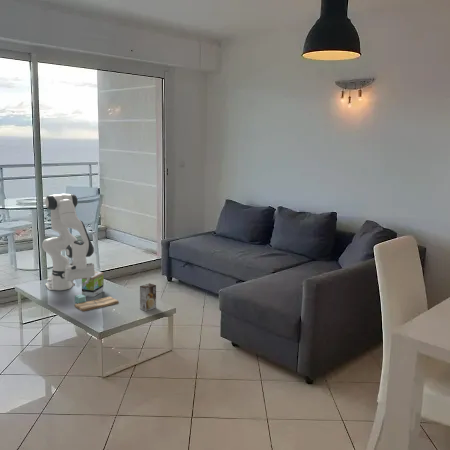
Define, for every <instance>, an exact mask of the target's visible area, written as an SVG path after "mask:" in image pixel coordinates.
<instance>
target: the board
mask: <svg viewBox="0 0 450 450" xmlns="http://www.w3.org/2000/svg"><path fill="white" fill-rule="evenodd" d="M119 301H120V300H118V299H116V298H113V297H112V296H106V297H102V298H101V297H100V298H97V299H94V300H93V299H92V300H86V302H83V303H78V304H77V303H75V304H74V308H76V309H78V310H80V311H81V312H86V311H90V310H94V309H100V308H104V307H108V306H112V305H118V304H119V303H120V302H119Z"/></svg>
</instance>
